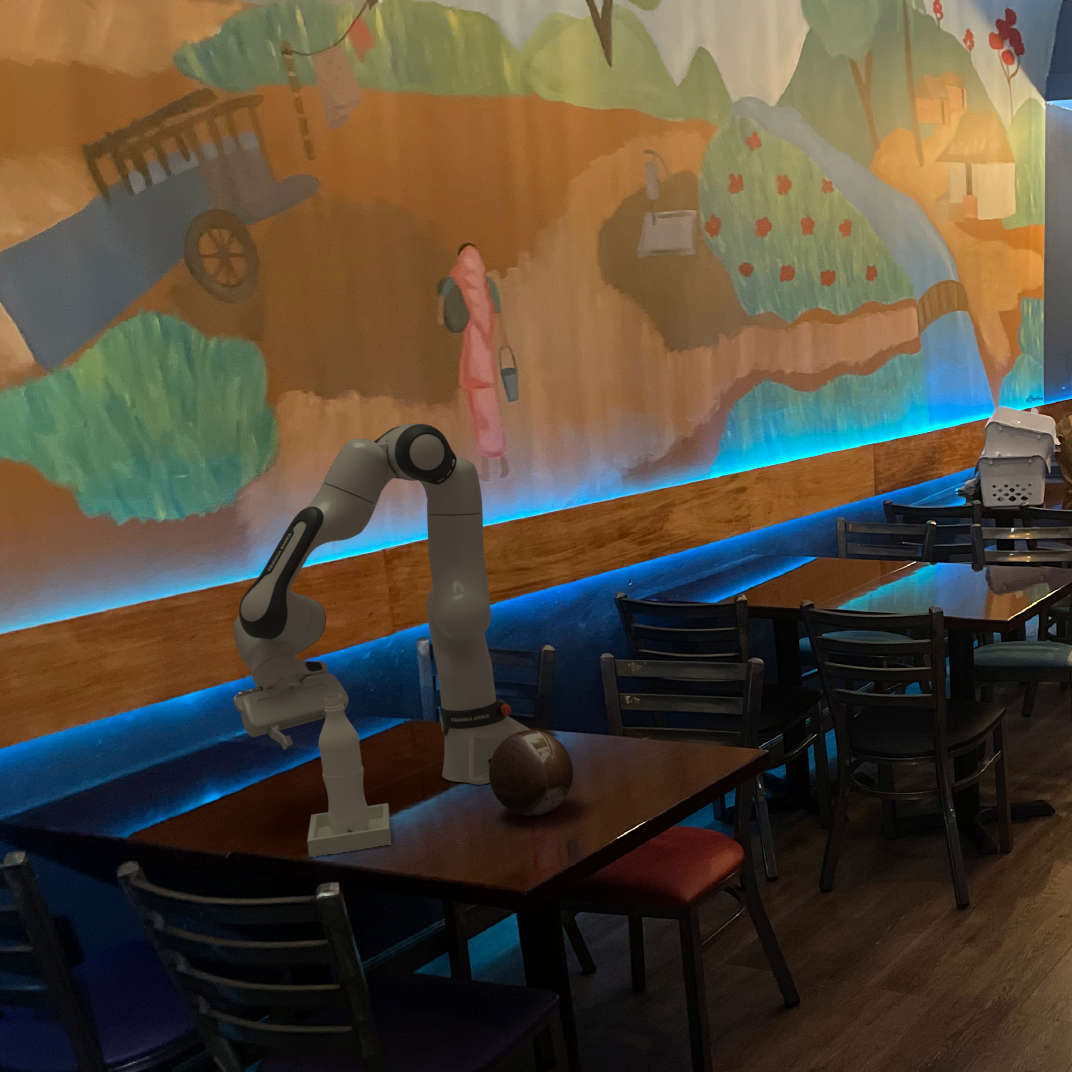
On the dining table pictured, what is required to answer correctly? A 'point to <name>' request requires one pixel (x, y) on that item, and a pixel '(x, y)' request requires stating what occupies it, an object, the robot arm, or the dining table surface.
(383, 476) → the robot arm
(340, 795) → the water bottle
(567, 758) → the wooden sphere
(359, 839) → the tray
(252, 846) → the dining table surface
